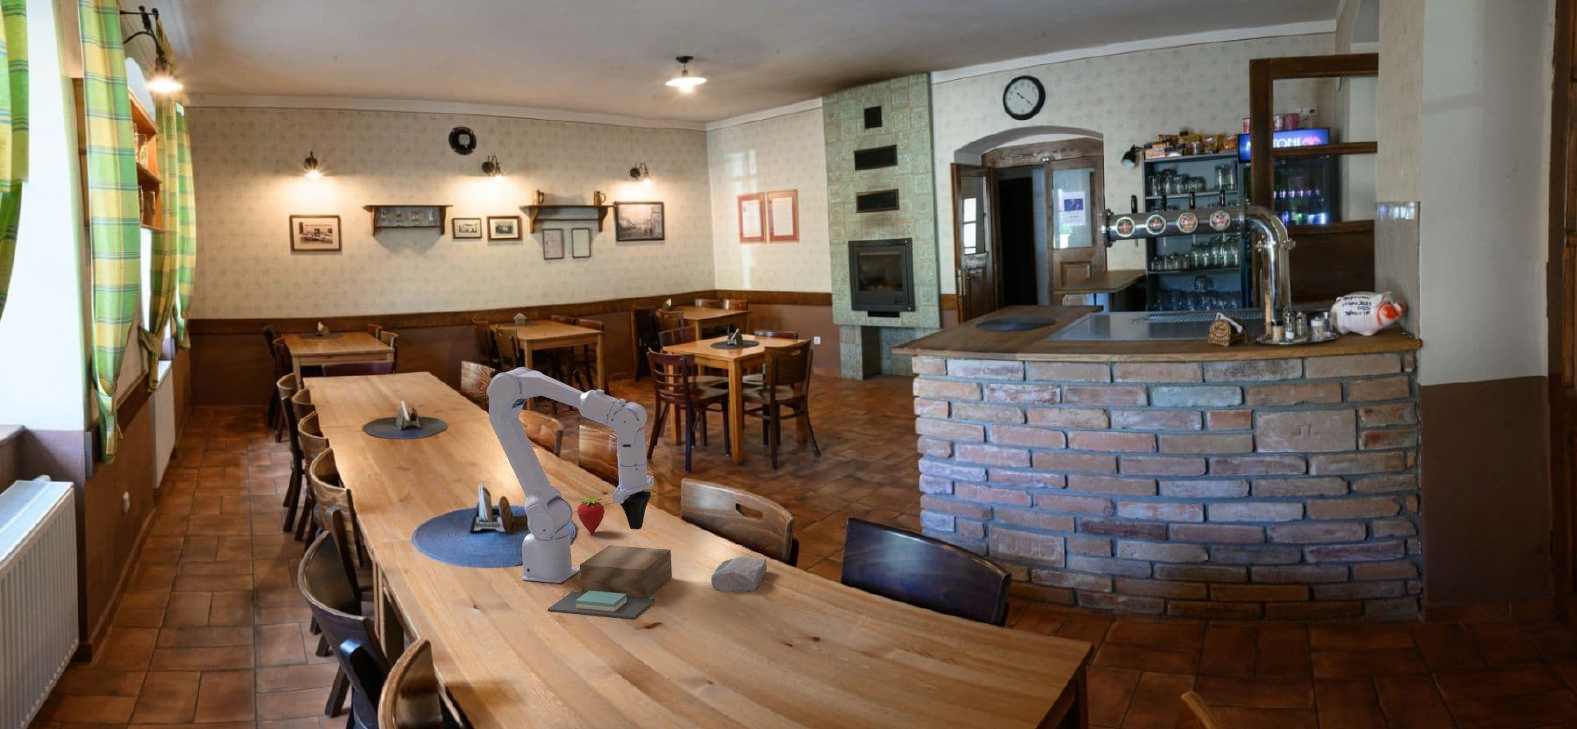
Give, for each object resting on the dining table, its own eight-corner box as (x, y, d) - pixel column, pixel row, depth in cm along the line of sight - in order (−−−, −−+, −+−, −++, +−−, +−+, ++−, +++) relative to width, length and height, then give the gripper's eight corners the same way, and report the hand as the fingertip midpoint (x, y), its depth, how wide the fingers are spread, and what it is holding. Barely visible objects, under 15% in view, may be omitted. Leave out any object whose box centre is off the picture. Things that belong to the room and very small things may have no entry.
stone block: (710, 600, 180) (759, 592, 178) (705, 577, 179) (753, 568, 177) (725, 581, 191) (771, 573, 189) (720, 558, 191) (765, 550, 189)
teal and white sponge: (589, 590, 177) (589, 598, 177) (575, 600, 172) (576, 607, 172) (626, 593, 174) (626, 601, 175) (613, 603, 170) (614, 611, 170)
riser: (581, 594, 180) (579, 564, 180) (611, 572, 192) (609, 545, 191) (645, 599, 176) (644, 569, 175) (672, 577, 187) (670, 549, 187)
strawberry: (594, 527, 225) (591, 487, 223) (611, 533, 219) (608, 492, 218) (573, 532, 220) (570, 492, 219) (590, 539, 215) (587, 497, 214)
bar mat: (547, 610, 172) (547, 608, 172) (572, 593, 181) (572, 591, 181) (633, 619, 167) (633, 617, 167) (655, 600, 176) (655, 598, 175)
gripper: (633, 472, 178) (637, 540, 179) (665, 455, 191) (668, 518, 193) (601, 471, 180) (605, 538, 181) (635, 454, 193) (638, 517, 195)
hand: (636, 528), depth 187 cm, fingers closed
